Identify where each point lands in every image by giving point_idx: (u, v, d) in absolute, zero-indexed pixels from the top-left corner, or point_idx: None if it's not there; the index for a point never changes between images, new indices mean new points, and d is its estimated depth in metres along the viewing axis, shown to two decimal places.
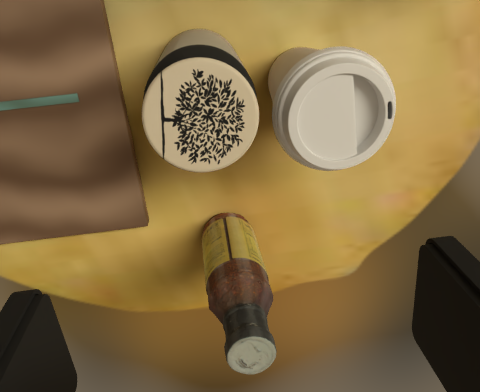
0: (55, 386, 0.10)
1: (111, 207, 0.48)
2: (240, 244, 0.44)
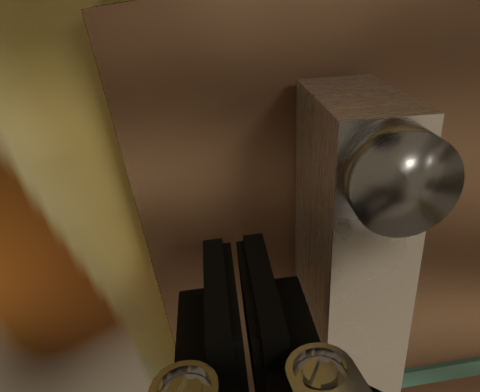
0: None
1: None
2: None
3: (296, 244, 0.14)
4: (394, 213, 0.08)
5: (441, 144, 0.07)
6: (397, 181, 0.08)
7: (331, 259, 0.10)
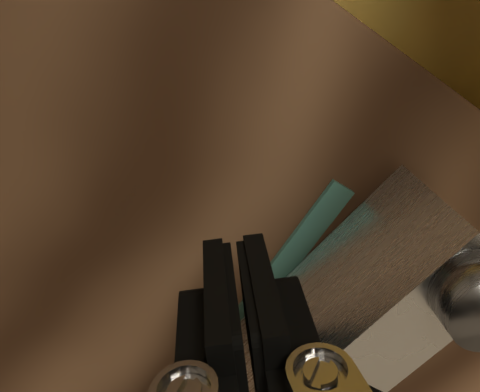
0: None
1: None
2: None
3: None
4: (473, 325, 0.09)
5: None
6: None
7: (372, 322, 0.10)
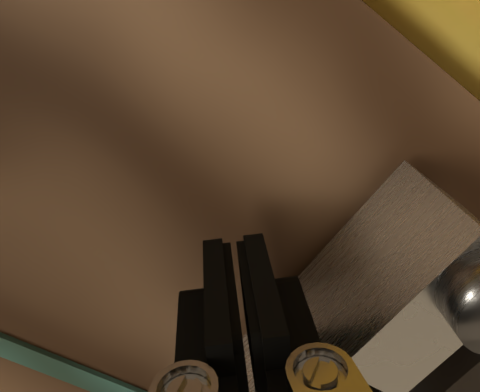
0: None
1: None
2: None
3: None
4: None
5: None
6: None
7: (379, 328, 0.10)
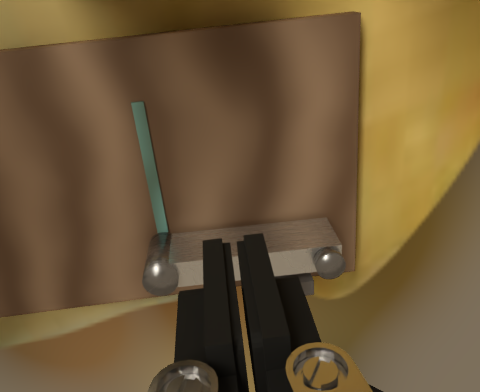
0: None
1: (317, 72, 0.29)
2: None
3: (260, 225, 0.33)
4: (324, 265, 0.30)
5: (342, 271, 0.30)
6: (333, 264, 0.30)
7: (297, 249, 0.30)
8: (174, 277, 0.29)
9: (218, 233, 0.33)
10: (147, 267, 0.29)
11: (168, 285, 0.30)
